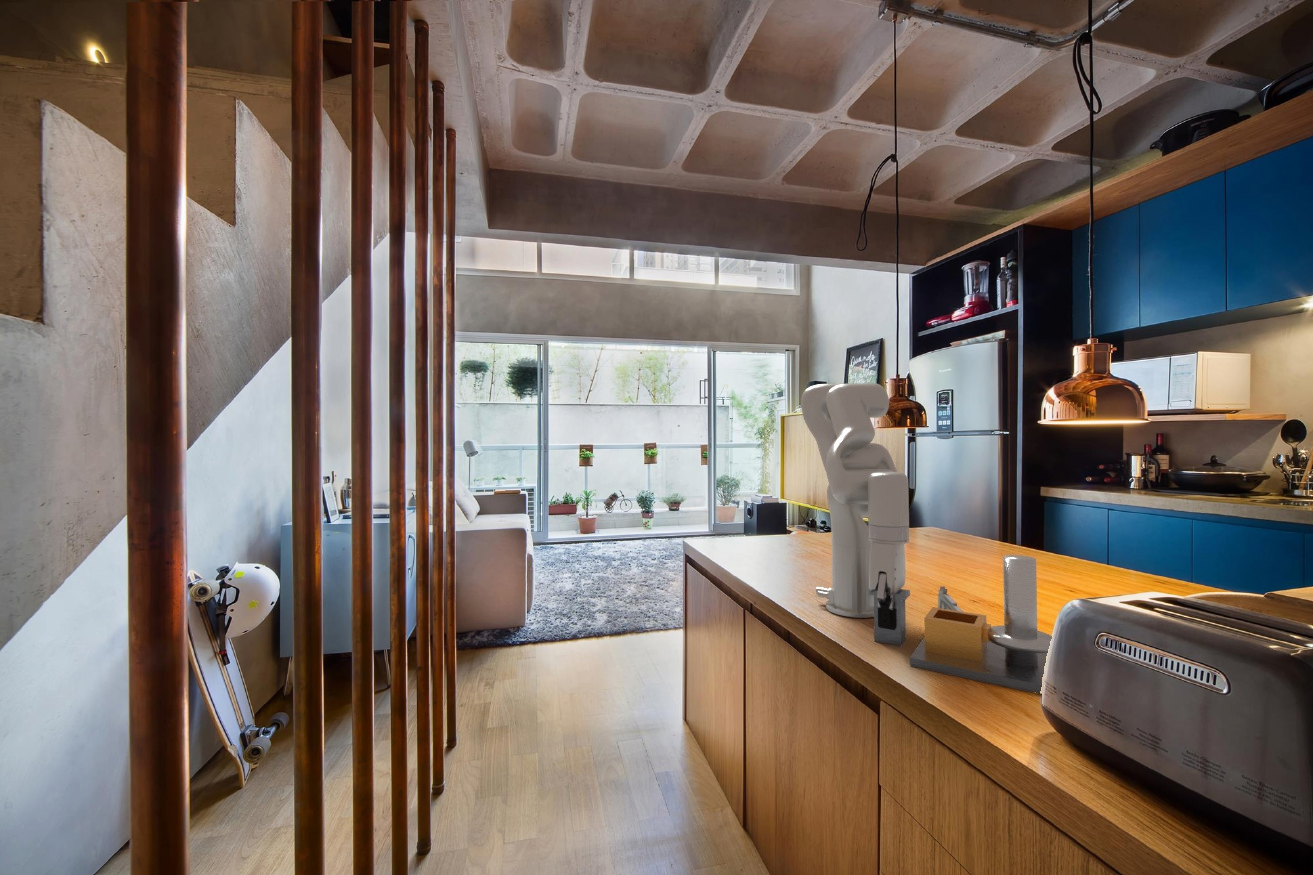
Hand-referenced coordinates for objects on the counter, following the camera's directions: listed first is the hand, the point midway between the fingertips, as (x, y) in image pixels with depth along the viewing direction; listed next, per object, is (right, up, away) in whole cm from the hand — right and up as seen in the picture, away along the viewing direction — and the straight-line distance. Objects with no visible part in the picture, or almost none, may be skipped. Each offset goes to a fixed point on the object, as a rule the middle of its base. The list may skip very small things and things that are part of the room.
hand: (889, 624), depth 110 cm
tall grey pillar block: (0, -3, 0) cm, 3 cm away
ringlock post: (+12, -3, -11) cm, 16 cm away
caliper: (+19, -4, +9) cm, 22 cm away
